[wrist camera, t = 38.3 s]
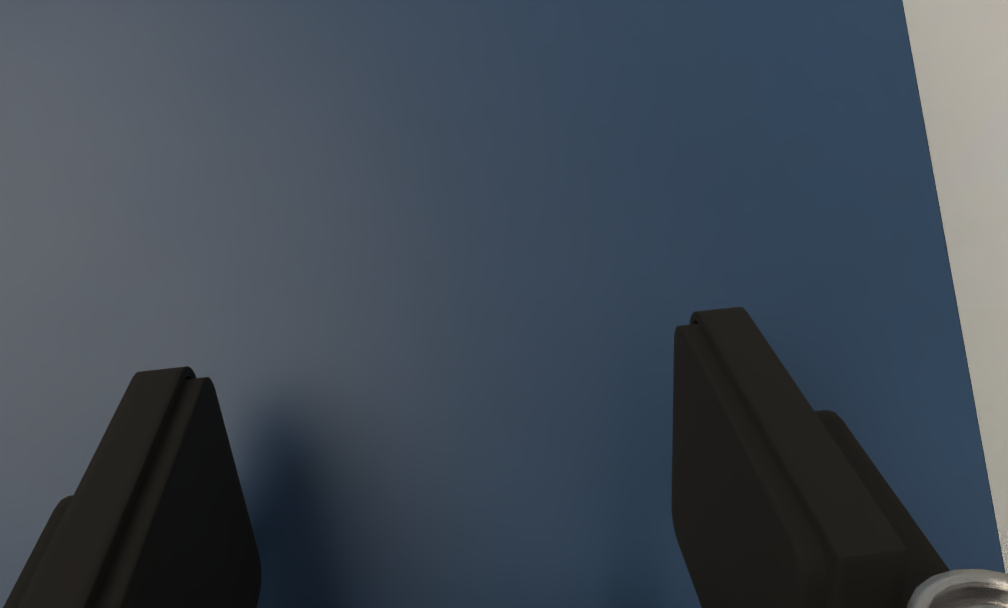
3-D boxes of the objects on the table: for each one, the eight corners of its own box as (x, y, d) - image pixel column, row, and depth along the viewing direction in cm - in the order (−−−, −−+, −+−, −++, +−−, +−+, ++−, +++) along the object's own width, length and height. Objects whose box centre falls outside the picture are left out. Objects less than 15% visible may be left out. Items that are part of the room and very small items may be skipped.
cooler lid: (1007, 763, 12) (1427, 1013, 7) (-45, 899, 11) (-492, 1296, 6) (846, -162, 14) (1074, -530, 9) (-65, -91, 13) (-421, -443, 8)
